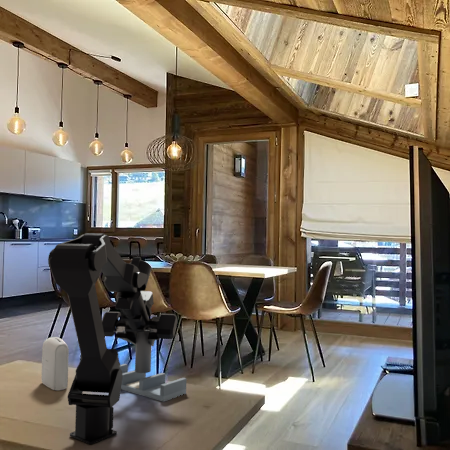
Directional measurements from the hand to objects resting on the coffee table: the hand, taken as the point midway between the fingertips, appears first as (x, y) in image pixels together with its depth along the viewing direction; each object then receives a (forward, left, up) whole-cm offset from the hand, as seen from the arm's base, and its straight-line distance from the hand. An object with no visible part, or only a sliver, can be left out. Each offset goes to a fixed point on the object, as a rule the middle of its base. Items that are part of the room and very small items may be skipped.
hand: (145, 344), depth 123 cm
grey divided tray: (-1, -1, -11) cm, 11 cm away
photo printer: (-14, +18, -11) cm, 26 cm away
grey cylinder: (-1, -1, -7) cm, 7 cm away
